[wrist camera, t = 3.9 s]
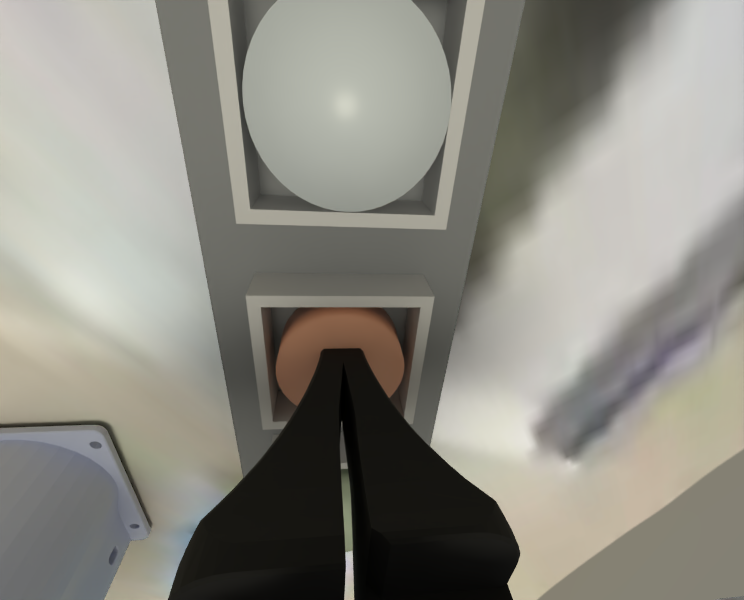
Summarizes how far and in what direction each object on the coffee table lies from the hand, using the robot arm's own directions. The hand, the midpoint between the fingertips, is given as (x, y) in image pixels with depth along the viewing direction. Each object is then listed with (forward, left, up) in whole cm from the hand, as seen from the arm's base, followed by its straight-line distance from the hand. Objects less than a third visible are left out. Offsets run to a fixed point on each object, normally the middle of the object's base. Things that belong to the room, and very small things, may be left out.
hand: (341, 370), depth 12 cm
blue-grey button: (+8, 0, -1) cm, 8 cm away
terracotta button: (0, 0, -2) cm, 2 cm away
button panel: (0, 0, -4) cm, 4 cm away
